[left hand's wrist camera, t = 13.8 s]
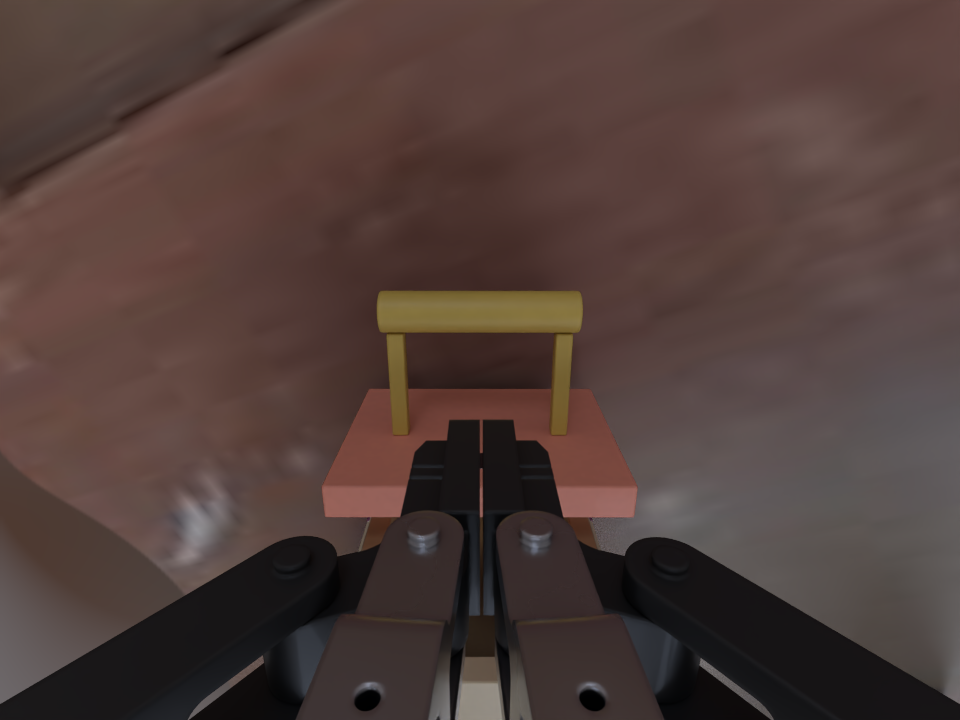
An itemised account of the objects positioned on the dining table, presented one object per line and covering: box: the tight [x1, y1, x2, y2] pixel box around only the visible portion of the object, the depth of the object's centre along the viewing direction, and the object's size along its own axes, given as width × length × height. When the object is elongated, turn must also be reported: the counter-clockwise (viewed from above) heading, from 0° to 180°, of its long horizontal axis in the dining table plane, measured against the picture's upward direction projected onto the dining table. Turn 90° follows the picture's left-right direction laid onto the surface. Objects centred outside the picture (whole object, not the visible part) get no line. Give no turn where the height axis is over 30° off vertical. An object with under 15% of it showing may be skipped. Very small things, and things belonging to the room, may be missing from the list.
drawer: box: [322, 291, 638, 657], centre depth 22 cm, size 22×10×8 cm, turn 0°
